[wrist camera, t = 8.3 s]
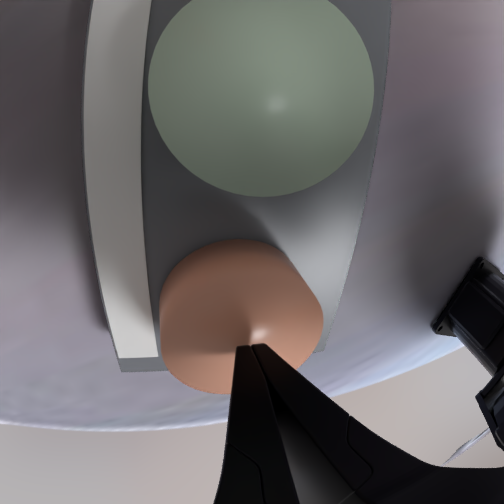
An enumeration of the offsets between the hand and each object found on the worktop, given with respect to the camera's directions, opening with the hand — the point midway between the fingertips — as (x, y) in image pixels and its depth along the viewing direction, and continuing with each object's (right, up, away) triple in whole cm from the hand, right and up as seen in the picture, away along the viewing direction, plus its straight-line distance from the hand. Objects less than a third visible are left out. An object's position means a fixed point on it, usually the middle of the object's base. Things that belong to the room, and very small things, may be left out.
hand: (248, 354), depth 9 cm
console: (-1, +8, +1) cm, 8 cm away
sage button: (0, +7, -1) cm, 7 cm away
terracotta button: (-1, +1, +2) cm, 2 cm away
